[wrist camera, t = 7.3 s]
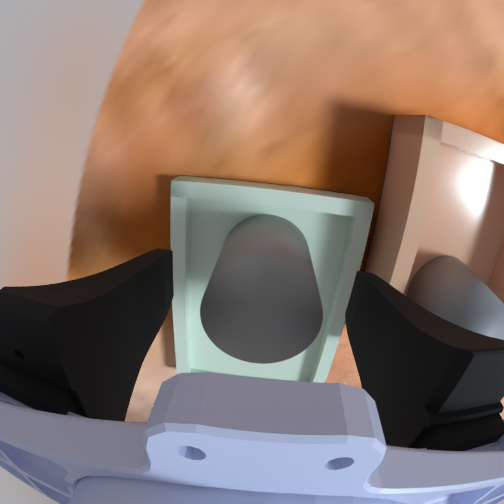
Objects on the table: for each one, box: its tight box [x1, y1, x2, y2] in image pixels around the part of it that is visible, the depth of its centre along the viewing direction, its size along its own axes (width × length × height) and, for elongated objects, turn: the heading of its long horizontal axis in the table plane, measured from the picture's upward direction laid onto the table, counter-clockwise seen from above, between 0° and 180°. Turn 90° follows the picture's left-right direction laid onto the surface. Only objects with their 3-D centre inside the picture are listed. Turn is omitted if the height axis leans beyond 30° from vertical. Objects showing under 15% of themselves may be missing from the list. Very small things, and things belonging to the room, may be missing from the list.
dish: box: [364, 115, 504, 304], centre depth 12 cm, size 11×9×3 cm
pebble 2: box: [407, 256, 504, 340], centre depth 12 cm, size 4×4×5 cm
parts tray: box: [170, 176, 375, 383], centre depth 15 cm, size 12×9×1 cm
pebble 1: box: [200, 214, 323, 364], centre depth 12 cm, size 4×4×5 cm
